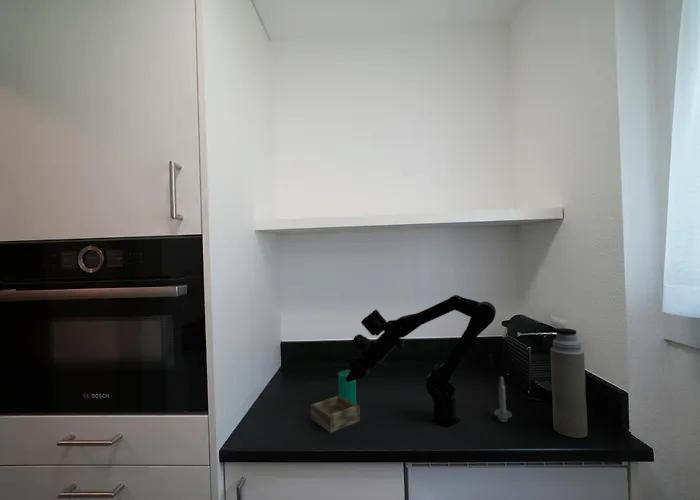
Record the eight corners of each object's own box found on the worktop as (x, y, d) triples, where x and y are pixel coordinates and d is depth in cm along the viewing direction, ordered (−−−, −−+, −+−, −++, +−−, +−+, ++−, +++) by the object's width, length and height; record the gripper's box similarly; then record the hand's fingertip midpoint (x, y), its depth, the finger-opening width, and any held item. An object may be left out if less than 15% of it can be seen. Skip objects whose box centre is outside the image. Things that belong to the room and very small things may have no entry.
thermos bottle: (579, 424, 100) (575, 326, 100) (593, 438, 92) (588, 332, 92) (549, 422, 101) (545, 326, 101) (560, 437, 93) (556, 332, 94)
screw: (504, 425, 100) (490, 418, 105) (515, 421, 102) (502, 415, 107) (502, 380, 100) (489, 375, 105) (514, 377, 102) (501, 372, 107)
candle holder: (339, 409, 114) (339, 395, 114) (360, 420, 106) (359, 406, 106) (311, 419, 108) (310, 404, 108) (330, 432, 99) (330, 416, 99)
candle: (346, 398, 122) (345, 364, 123) (360, 402, 119) (359, 367, 119) (335, 404, 118) (334, 369, 118) (348, 409, 114) (347, 372, 114)
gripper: (376, 322, 124) (348, 350, 128) (354, 333, 107) (323, 365, 112) (397, 346, 120) (369, 374, 125) (378, 362, 104) (346, 393, 108)
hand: (352, 376), depth 117 cm, fingers open, 9 cm apart
